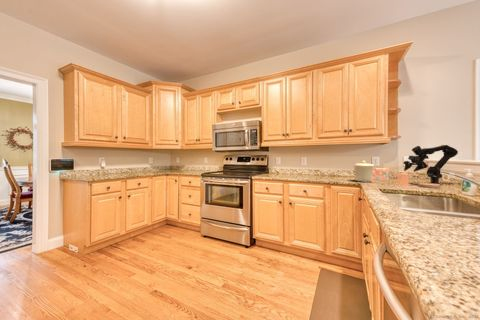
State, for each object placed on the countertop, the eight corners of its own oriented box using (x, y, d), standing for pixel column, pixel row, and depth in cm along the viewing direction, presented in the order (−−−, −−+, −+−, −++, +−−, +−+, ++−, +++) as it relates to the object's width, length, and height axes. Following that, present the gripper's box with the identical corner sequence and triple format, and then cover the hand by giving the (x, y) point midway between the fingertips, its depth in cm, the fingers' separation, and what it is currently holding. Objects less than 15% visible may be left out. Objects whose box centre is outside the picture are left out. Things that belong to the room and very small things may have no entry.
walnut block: (421, 186, 180) (421, 182, 180) (440, 187, 171) (440, 184, 171) (418, 187, 173) (418, 184, 173) (437, 189, 163) (437, 185, 163)
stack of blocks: (366, 179, 222) (366, 168, 222) (364, 179, 228) (364, 168, 228) (389, 180, 217) (389, 168, 216) (386, 179, 223) (386, 168, 222)
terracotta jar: (402, 184, 190) (402, 173, 190) (409, 185, 183) (410, 174, 183) (395, 184, 189) (395, 173, 189) (402, 185, 182) (402, 174, 182)
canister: (378, 182, 199) (378, 160, 198) (359, 182, 199) (359, 161, 198) (367, 180, 217) (367, 160, 216) (349, 180, 217) (350, 160, 216)
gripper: (405, 152, 196) (394, 164, 195) (425, 152, 177) (413, 165, 176) (412, 160, 197) (401, 172, 196) (432, 161, 178) (421, 174, 177)
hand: (409, 171), depth 186 cm, fingers open, 9 cm apart
